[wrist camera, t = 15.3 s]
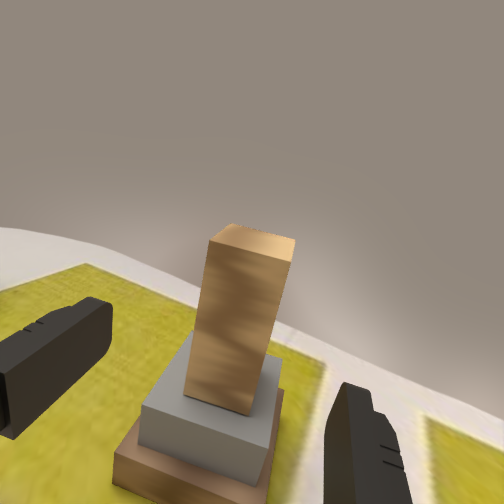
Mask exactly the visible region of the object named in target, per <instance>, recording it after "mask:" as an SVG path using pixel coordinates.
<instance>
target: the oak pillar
mask: <svg viewBox="0 0 504 504" xmlns="http://www.w3.org/2000/svg"><path fill="white" fill-rule="evenodd" d="M294 245H295V240H294V239H290V238H286V237H282V236H278V235H274V234H271V233H267V232H262V231H259V230H255V229H251V228H247V227H244V226H240V225H235V224H232V223H231V224H229V225H228V226H227V227H225V228H224V229H223V230H222V231H220V232H219V233H218V234H216V235H215V236H214V237H213V238H212V239H210V240H209V245H208V252H207V257H206V263H205V269H204V274H203V280H202V286H201V292H200V298H199V304H198V309H197V315H196V321H195V327H194V333H193V338H192V344H191V350H190V356H189V362H188V368H187V373H186V379H185V385H184V391H183V394H184V395H187V396H190V397H193V398H196V399H199V400H202V401H205V402H208V403H211V404H214V405H217V406H220V407H223V408H226V409H229V410H232V411H235V412H238V413H241V414H244V415H247V416H249V413H250V410H251V406H252V402H253V399H254V395H255V391H256V388H257V384H258V380H259V377H260V373H261V370H262V366H263V362H264V359H265V355H266V351H267V348H268V344H269V340H270V337H271V333H272V330H273V326H274V322H275V319H276V315H277V311H278V308H279V304H280V300H281V297H282V293H283V289H284V286H285V282H286V278H287V275H288V271H289V268H290V264H291V260H292V255H293V250H294Z"/></svg>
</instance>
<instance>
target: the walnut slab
mask: <svg viewBox="0 0 504 504" xmlns="http://www.w3.org/2000/svg"><path fill="white" fill-rule="evenodd" d="M283 395H284V390H283V389H280V388H278V390H277V397H276V403H275V410H274V416H273V423H272V429H271V436H270V442H269V448H268V452H267V455H266V457H265V460H264V463H263V466H262V469H261V472H260V475H259V478H258V481H257V484H256V487H252V486H250V485H247V484H244V483H242V482H239V481H236V480H233V479H231V478H228V477H225V476H223V475H220V474H217V473H214V472H212V471H209V470H206V469H204V468H201V467H198V466H195V465H193V464H190V463H187V462H185V461H182V460H179V459H176V458H174V457H171V456H168V455H166V454H163V453H160V452H157V451H155V450H152V449H149V448H147V447H144V446H141V445H138V444H137V443H138V434H139V425H140V416H139V417H138V419H137V420H136V422H135V423H134V425H133V426H132V427H131V429H130V430H129V432H128V433H127V435H126V436H125V437H124V439H123V440H122V442H121V443H120V445H119V446H118V447H117V449H116V450H115V452H114V464H113V478H112V484H114V485H116V486H119V487H121V488H123V489H126V490H128V491H130V492H133V493H135V494H137V495H140V496H142V497H144V498H147V499H149V500H151V501H154V502H156V503H158V504H265V503H266V497H267V491H268V485H269V479H270V473H271V467H272V461H273V455H274V449H275V443H276V437H277V431H278V425H279V419H280V413H281V407H282V401H283Z"/></svg>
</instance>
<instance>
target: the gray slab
mask: <svg viewBox="0 0 504 504" xmlns="http://www.w3.org/2000/svg"><path fill="white" fill-rule="evenodd" d="M193 333H194V331H191V333H190V334H189V335H188V337H187V338H186V340H185V341H184V343H183V344H182V346H181V347H180V349H179V350H178V352H177V353H176V355H175V356H174V358H173V359H172V361H171V362H170V363H169V365H168V366H167V368H166V369H165V371H164V372H163V374H162V375H161V377H160V378H159V380H158V381H157V383H156V384H155V386H154V387H153V388H152V390H151V391H150V393H149V394H148V396H147V397H146V399H145V400H144V402H143V403H142V406H141V415H140V425H139V434H138V443H137V444H138V445H141V446H144V447H147V448H149V449H152V450H155V451H157V452H160V453H163V454H166V455H168V456H171V457H174V458H176V459H179V460H182V461H185V462H187V463H190V464H193V465H195V466H198V467H201V468H204V469H206V470H209V471H212V472H214V473H217V474H220V475H223V476H225V477H228V478H231V479H233V480H236V481H239V482H242V483H244V484H247V485H250V486H252V487H256V484H257V481H258V478H259V475H260V472H261V469H262V466H263V463H264V460H265V457H266V455H267V452H268V448H269V442H270V436H271V429H272V423H273V416H274V410H275V403H276V397H277V390H278V384H279V378H280V371H281V365H282V359H281V358H278V357H274V356H271V355H268V354H266V355H265V359H264V362H263V366H262V370H261V373H260V377H259V380H258V384H257V388H256V391H255V395H254V399H253V402H252V406H251V410H250V413H249V416H247V415H244V414H241V413H238V412H235V411H232V410H229V409H226V408H223V407H220V406H217V405H214V404H211V403H208V402H205V401H202V400H199V399H196V398H193V397H190V396H187V395H184V394H183V391H184V385H185V379H186V373H187V368H188V362H189V356H190V350H191V344H192V338H193Z"/></svg>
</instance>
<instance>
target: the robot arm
mask: <svg viewBox="0 0 504 504" xmlns="http://www.w3.org/2000/svg"><path fill="white" fill-rule="evenodd" d="M112 318H113V307H112V304H111V303H108V302H105V301H102V300H99V299H96V298H93V297H86V298H84V299H83V300H81V301H80V302H78V303H76V304H75V305H73V306H72V307H71V306H67V307H64V308H61V309H58V310H54V311H51V312H50V313H48V314H46V315H45V316H43V317H41V318H39V319H38V320H36V322H35V323H31V324H29V325H28V326H26V327H24V328H23V330H22V331H21V330H19V331H18V332H16V333H14V334H13V335H11V336H9V337H8V338H6V339H4V340H3V341H1V342H0V435H2V436H5V437H7V438H9V439H12V440H15V439H16V438H17V437H18V436H19V435H20V434H21V433H22V432H23V431H24V430H25V429H26V428H27V427H28V426H30V425H31V424H32V423H33V422H34V421H35V420H36V419H37V418H38V417H39V416H40V415H41V414H42V413H43V412H44V411H46V410H47V409H48V408H49V407H50V406H51V405H52V404H53V403H54V402H55V401H56V400H57V399H58V398H59V397H61V396H62V395H63V394H64V393H65V392H66V391H67V390H68V389H69V388H70V387H71V386H72V385H73V384H74V383H76V382H77V381H78V380H79V379H80V378H81V377H82V376H83V375H84V374H85V373H86V372H87V371H88V370H89V369H90V368H92V367H93V366H94V365H95V364H96V363H97V362H98V361H99V360H100V359H101V358H102V357H103V356H104V355H105V354H106V352H107V351H108V349H109V347H110V344H111V340H112ZM323 504H413V503H412V498H411V494H410V490H409V486H408V482H407V478H406V473H405V472H404V465H403V461H402V457H401V455H400V448H399V444H398V440H397V436H396V432H395V431H394V429H393V428H392V426H391V424H390V423H389V421H388V419H387V418H386V416H385V415H384V414H381V413H379V412H376V411H374V409H373V404H372V398H371V393H370V391H369V390H367V389H364V388H361V387H358V386H355V385H352V384H349V383H346V382H343V383H342V385H341V387H340V390H339V392H338V394H337V397H336V399H335V402H334V404H333V406H332V409H331V411H330V414H329V416H328V419H327V423H326V427H325V434H324V503H323Z"/></svg>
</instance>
